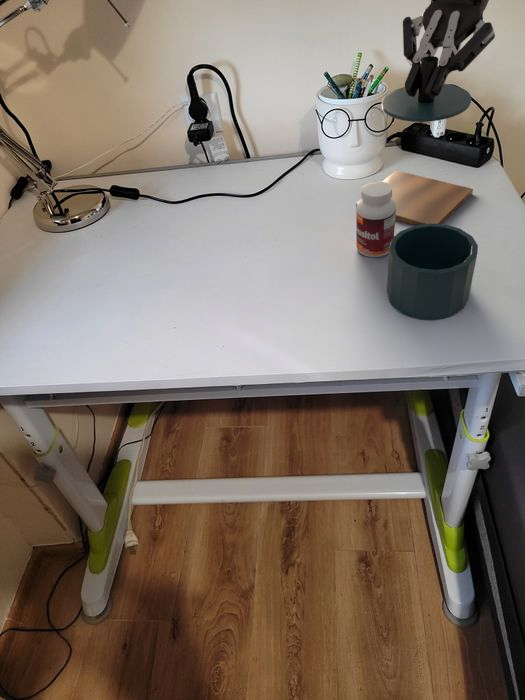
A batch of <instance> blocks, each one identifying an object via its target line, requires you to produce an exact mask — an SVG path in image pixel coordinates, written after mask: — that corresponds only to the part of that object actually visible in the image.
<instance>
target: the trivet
mask: <svg viewBox="0 0 525 700" xmlns="http://www.w3.org/2000/svg"><path fill="white" fill-rule="evenodd" d="M381 182H386V183H388V184H390V185H391V186H392V198H393V199H394V201H395V203H396V215H395V221H399V222H403V223H406V224H409V225H412V226H415V225H422V224H429V223H431V224H444V222H445V221H446V220H448V218H449V217H450V216H451V215H453V214H454V213H455V212H456V211H457V209H458V208H460V207H461V206H462V204H464V203H465V202H466V201H467V199H469V198H470V197H471V196H472V195H473V191H474V188H470V187H466V186H463V185H458V184H454V183H450V182H446V181H441V180H437V179H434V178H430V177H425V176H423V175H422V176H421V175H418V174H413V173H409V172H405V171H401V170H397V169H395V170H394V171H392V172H391V174H390V175H388V176H387V177H386V178H385V179H384V180H382V181H381ZM358 202H359V200H357V202H355V208H356V207H357V203H358Z"/></svg>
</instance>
